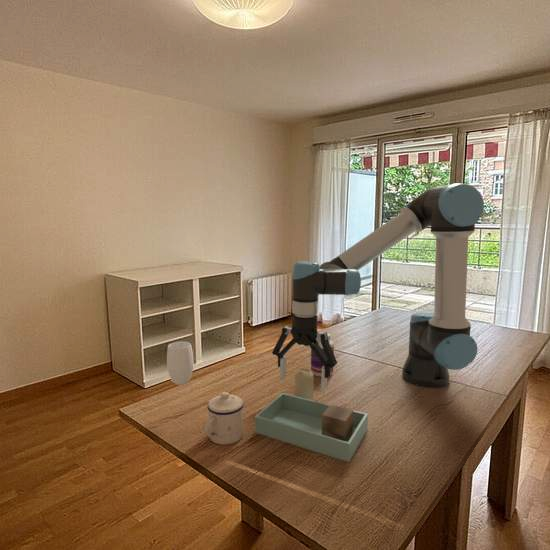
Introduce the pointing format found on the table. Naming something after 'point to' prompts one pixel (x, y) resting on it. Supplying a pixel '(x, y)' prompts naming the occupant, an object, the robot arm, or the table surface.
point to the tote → (307, 426)
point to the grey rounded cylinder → (180, 362)
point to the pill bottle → (315, 361)
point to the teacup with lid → (225, 419)
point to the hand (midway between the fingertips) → (302, 382)
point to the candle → (304, 384)
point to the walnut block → (337, 423)
